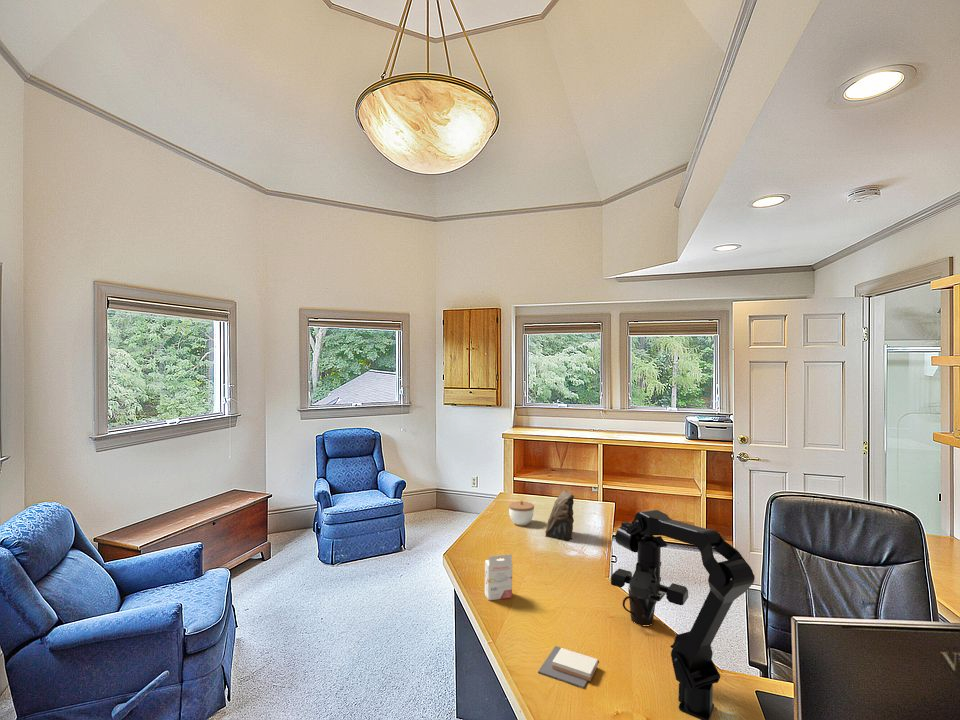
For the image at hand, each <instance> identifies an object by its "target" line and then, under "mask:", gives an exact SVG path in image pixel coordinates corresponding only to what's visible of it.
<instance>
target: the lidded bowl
mask: <svg viewBox="0 0 960 720" xmlns="http://www.w3.org/2000/svg"><path fill="white" fill-rule="evenodd" d="M534 511H535V504H533V503H531V502H528V501H523V500H520V501H512V502H510V503H508V514H509V517H510V520H511V521H512V523H513V524H514V525H517V526H527V525H529V523H531V521H532V520H533V518H534V514H535V513H534Z"/></svg>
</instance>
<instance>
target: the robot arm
mask: <svg viewBox="0 0 960 720" xmlns="http://www.w3.org/2000/svg"><path fill="white" fill-rule="evenodd" d="M614 537H615V539H614V540H615V542H616V544H618V545H619V546H621V547H623V548H625V549H627V550H628V551H630V552H632V553H637V562H636V563H635V571H634V572H633V573H632V571H630V570H626V569H623V568H618V569H616V570H615V571H614V572H613V573H612V574H611V576H610V585H611V586H614V587H616V588H623V587H624V586H625V585H626V584H628V585H629V584H630V592H631V595H633V596H637V597H638V598H639V601H640V603H641V606H642V609H643V612H644V615H645V618H646V619H650V617H651V614H652V612H653V609H654V607H655V608H656V604H657V603H658V602H661V601H662V599H663V597H665V596H666V597H665V598H666V600H668V602H669V603H672V604H674V605H677V606H684V604H685V603H686V602H687V600H688V599H689V589H688V588H687V586H685V585H682V584H681V585H680V584H678V583H673V582H672V583H671V584H670V585H669V586H666V585H665V584H661V582H662V576H661V566H662V561H661V552H662V551H661V550H662V548H667V547H668V544H667V541H666V540H664V539H663V538H662V537H666V538H669V539H672V540H675V541H679V542H682V543H685V544H689V545H692V546H695V547H697V549H698V551H699V552H700V556H701V561H702V566H703V567H704V569H705V571H707V573H708V579H707V582H708V586H709V591H708V594H707V597H706V599H704V602H703V604H702V606H701V608H700V610H699V612H698V614H697V616H696V619H695V621H694V623H693V624H692V627H691V629H690V630H689V631H685V632H683V633H679V634H676V636H675V637H674V641H673V643H672V645H670V648H671V651H670V657H671V663H672V667H673V672H674V676H675V680H676V681H678V699H677V700H678V702H679V705H678V709H679V711H682V712H685V713H687V714H688V715H689V714H690V715H692V716H695V717H697V718H699V719H700V720H710V719H711V717H712V713H713V711H714V708H715V704H714V703H713V701H714V700H713V698H714V697H713V696H714V692H713V691H714V688H713V687H714V684H718V683H719V681H720V679H721V675H720V672H719V670H718V669H717V667H716V665H715V662H714V661H713V659H712V658H713V654H714V653H713V648H712V643H713V641H714V640H715V638H716V636H717V634H718V632H719V630H720V628H721V626H722V624H723V622H724V620H725V619H726V616H727V614H728V612H729V610H730V608H731V607H732V605H733V603H734V601H735V600H737V599H738V598H739V597H741V596H742V595H744V593H746V592H747V591H748V589H749V588H750V587H751V586H752V585H753V584H754V581H755V578H756V577H755V574H754V572H753V569H752V567H751V566H750V564H749V563H748V562H747V561H746V560H745V558H744V557H743V555H742V554H741V552H740V551H739V550H737V548H735V547H733V546H732V545H731V543H728V542H727V540H725V539H724V537H723V536H722V535H721V534H720V532H718V531H717V530H715V529H713V528H711V529H710V528H709V529H708V528H704V527H701V526H697V525H693V524H691V523H690V524H689V523H686V522H682V521H679V520H675V519H673V518H671V517H669V516H668V514H666V513H665V512H662V511H661V510H658V509H652V510H646V511H637V512H636V513H635V515H634V519H632V521H631V522H629V521H622V522H621V525H620V527H619V528H618V529H617V530H616V533H615V535H614ZM714 551H716V552H717V553H718V554H719V555H721V556H722V557H723V558H725V559H726V560H724V561H719V562H718V560H716V558H715V557H714Z"/></svg>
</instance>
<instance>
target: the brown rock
mask: <svg viewBox="0 0 960 720" xmlns="http://www.w3.org/2000/svg"><path fill="white" fill-rule="evenodd" d="M561 491H562V492H561V493H560V494H559V495H558V497H557V499H556V500H555V501H554V504H553V507H552V510H551V512H550V515H549V517H548V521H547V524H546V529H545V533H544V534H545V535H544V537H546V538H550V539H555V540H559V541H563V542H570V541H571V540H573V537H572V535H573V531H574V510H573V507H574V506H573V505H574V498H575V496H574V495H573V494H572V493H569V492H567V490H565V489H563V490H561Z"/></svg>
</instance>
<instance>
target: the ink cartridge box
mask: <svg viewBox="0 0 960 720" xmlns="http://www.w3.org/2000/svg"><path fill="white" fill-rule="evenodd" d="M512 558H513V556H512V554H509V553H508V554H499V555H490V556H489V557H488V559H486V560H484V595H485V597H486V599H487V600H488V601H494V600H503V599H511V598H513V563H512V562H513V560H512Z"/></svg>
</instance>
